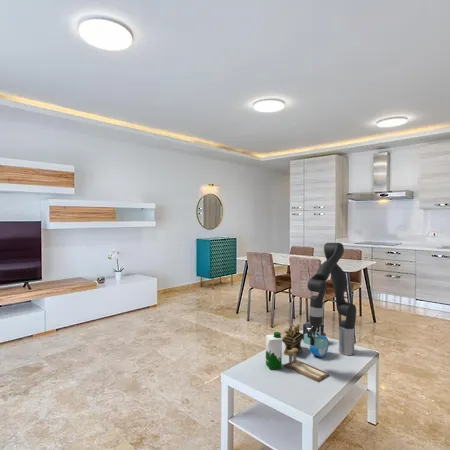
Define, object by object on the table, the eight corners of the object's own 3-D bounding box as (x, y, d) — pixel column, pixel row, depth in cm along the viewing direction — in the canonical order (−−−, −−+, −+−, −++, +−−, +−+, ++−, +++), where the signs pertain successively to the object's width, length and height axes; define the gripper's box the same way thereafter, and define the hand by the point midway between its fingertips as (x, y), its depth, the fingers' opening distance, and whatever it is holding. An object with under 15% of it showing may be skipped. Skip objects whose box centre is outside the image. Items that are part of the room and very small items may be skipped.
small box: (302, 340, 229) (302, 324, 228) (306, 337, 234) (306, 321, 234) (319, 345, 220) (320, 328, 220) (323, 342, 225) (324, 325, 225)
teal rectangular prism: (308, 340, 188) (309, 332, 188) (326, 347, 179) (327, 338, 179) (303, 342, 185) (304, 334, 184) (321, 349, 175) (322, 340, 175)
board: (295, 361, 196) (295, 346, 196) (328, 375, 178) (329, 359, 178) (284, 366, 189) (284, 351, 188) (317, 382, 171) (318, 365, 171)
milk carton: (283, 369, 185) (283, 335, 185) (268, 370, 183) (269, 336, 183) (277, 362, 194) (278, 330, 193) (263, 364, 192) (264, 331, 191)
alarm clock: (317, 360, 197) (317, 336, 197) (309, 357, 202) (309, 333, 201) (328, 354, 206) (329, 331, 205) (320, 351, 210) (320, 329, 210)
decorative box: (291, 346, 219) (291, 317, 218) (304, 349, 213) (305, 320, 213) (278, 356, 203) (278, 325, 202) (292, 360, 197) (292, 329, 196)
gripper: (317, 311, 189) (316, 339, 189) (303, 314, 180) (302, 344, 180) (328, 314, 183) (327, 343, 183) (314, 318, 174) (313, 349, 174)
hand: (315, 343), depth 181 cm, fingers closed on teal rectangular prism, 5 cm apart
